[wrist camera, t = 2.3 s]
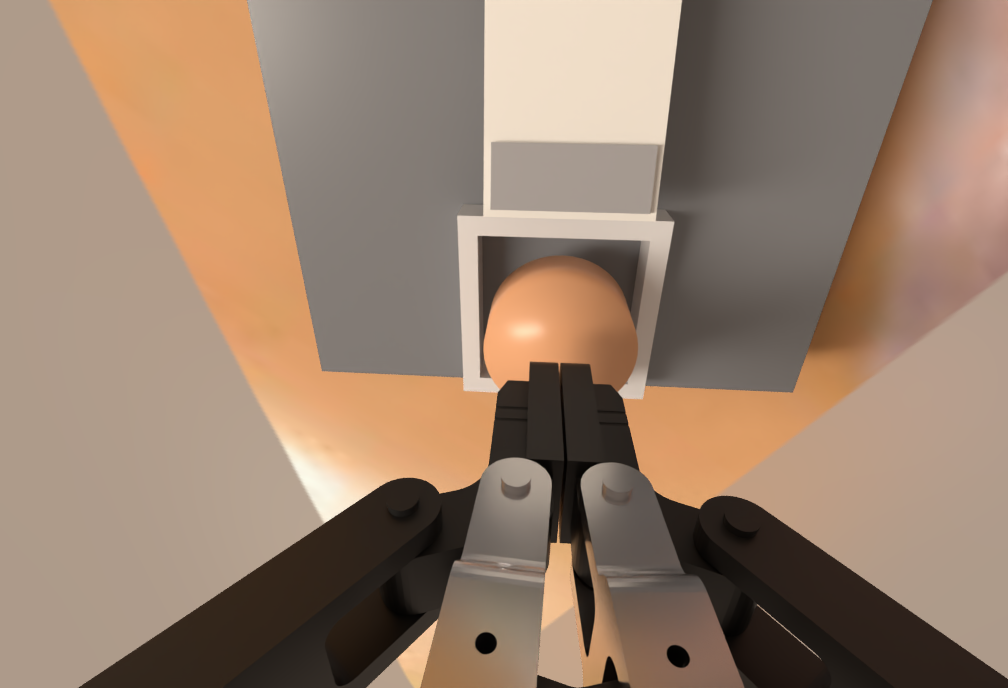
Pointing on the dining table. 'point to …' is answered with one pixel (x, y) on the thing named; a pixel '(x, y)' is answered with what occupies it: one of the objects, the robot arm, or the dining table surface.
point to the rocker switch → (576, 107)
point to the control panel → (607, 243)
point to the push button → (560, 322)
